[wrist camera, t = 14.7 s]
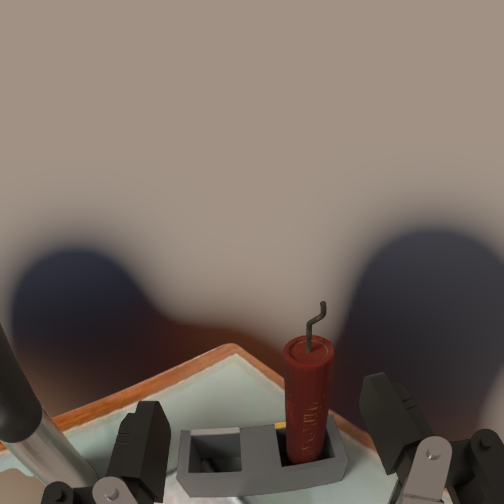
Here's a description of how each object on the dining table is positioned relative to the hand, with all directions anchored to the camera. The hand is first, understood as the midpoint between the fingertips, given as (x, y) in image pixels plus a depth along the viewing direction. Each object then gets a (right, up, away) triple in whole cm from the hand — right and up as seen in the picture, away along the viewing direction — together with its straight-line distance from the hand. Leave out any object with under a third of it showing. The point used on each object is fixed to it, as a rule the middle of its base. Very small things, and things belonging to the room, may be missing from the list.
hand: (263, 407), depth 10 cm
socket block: (+1, -27, +26) cm, 37 cm away
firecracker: (+7, -26, +26) cm, 37 cm away
